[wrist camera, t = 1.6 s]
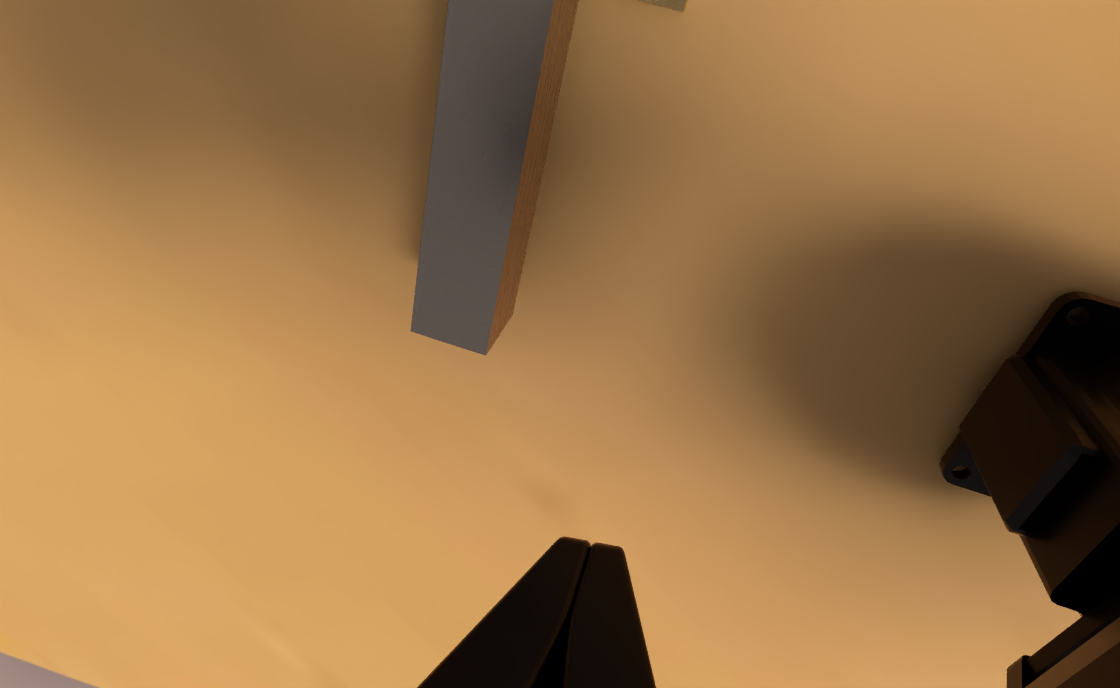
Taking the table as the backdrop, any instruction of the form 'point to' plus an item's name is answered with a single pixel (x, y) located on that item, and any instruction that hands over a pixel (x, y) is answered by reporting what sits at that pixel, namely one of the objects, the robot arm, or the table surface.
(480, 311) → the lock bar
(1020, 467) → the robot arm
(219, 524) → the table surface
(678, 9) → the plate
